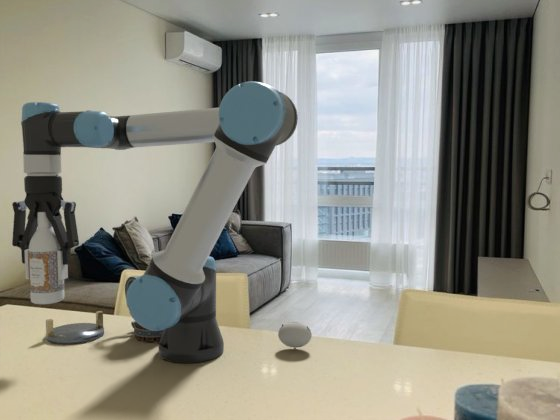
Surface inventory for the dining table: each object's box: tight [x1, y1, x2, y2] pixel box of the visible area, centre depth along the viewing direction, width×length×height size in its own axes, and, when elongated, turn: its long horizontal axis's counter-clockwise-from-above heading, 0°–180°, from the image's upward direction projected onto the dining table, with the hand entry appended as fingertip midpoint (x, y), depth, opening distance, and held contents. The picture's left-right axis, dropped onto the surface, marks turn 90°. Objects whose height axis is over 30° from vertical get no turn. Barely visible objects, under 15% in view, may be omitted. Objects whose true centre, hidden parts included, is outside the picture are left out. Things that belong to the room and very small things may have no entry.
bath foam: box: [29, 212, 65, 305], centre depth 117 cm, size 7×7×20 cm
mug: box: [124, 275, 163, 343], centre depth 137 cm, size 16×11×15 cm
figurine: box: [277, 321, 312, 351], centre depth 126 cm, size 8×6×7 cm
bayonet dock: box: [45, 310, 105, 346], centre depth 136 cm, size 14×14×5 cm
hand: (47, 278), depth 117 cm, fingers closed on bath foam, 7 cm apart
